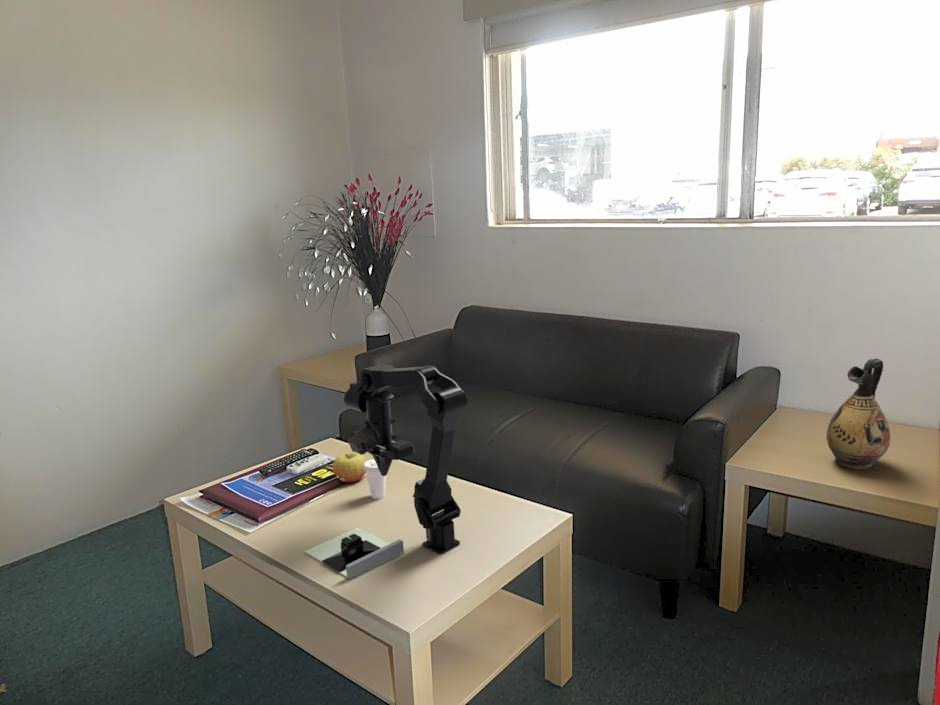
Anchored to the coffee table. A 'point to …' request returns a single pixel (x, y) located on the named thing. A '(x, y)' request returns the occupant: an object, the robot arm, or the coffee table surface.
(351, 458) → the apple
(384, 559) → the base plate
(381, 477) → the smoothie
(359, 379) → the robot arm
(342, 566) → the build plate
